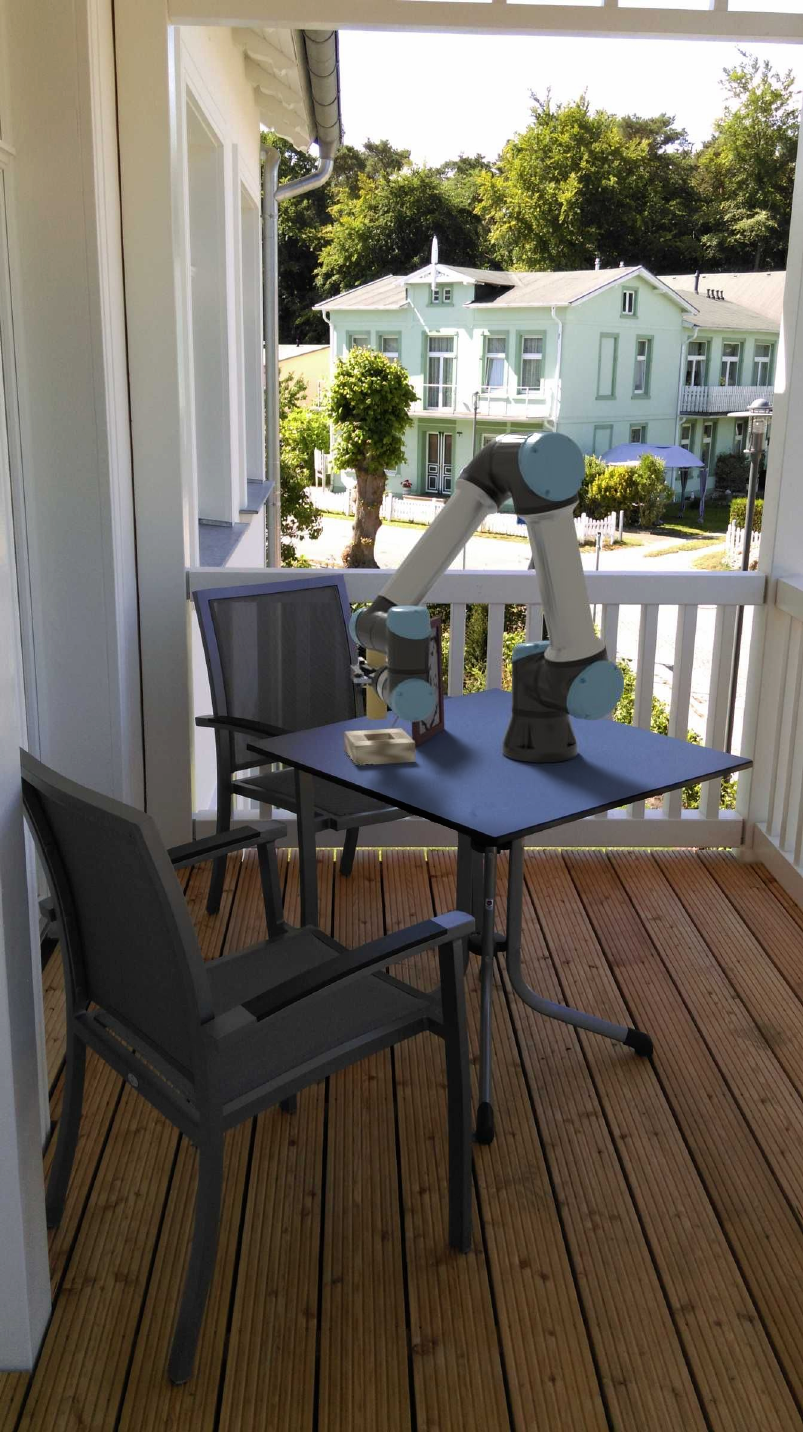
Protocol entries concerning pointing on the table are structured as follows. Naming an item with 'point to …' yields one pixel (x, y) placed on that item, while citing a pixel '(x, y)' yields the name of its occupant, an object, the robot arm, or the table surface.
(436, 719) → the picture frame
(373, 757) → the socket block
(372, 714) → the peg
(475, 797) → the table surface
